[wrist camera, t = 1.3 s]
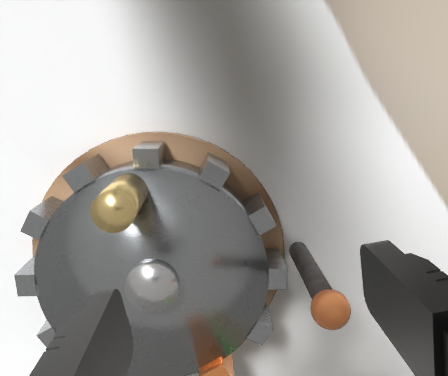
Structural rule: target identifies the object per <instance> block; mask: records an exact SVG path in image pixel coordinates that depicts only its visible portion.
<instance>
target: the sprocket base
mask: <svg viewBox="0 0 448 376" xmlns="http://www.w3.org/2000/svg"><path fill="white" fill-rule="evenodd" d="M142 141H165V159H173V160H178V161H182V162H186V163H190V164H192V165H195V166H198V167H200V166H201V164H202V162H203V161H204V159H205V157H206V155H207V154H208V152H209V153H211V154H213V155H215V156H217V157H218V158H220V159H222V160H224V161H226V162H227V163H228V166H229V170H230V174H229V176H228V178H227V179H226V181H225V182H226V183H227V184H228V185H229V186H230V187H231V188H232V189H233V190H234V191H236V193H237V194H238V195H239V196H240V197H241V199H242V200H243V201H244V200H245V199H247V198H249V197H251V196H252V195H254V194H256V193H259V194H260V196H261V198H262V200H263V201H264V203H265V205H266V206H267V208H268V210H269V212H270V214H271V216H272V218H273V220H274V222H275V224H276V227H274V228H272V229H270V230H269V231H267V232H265V233H263V234H261V235H260V236H261V239H262V242H263V245H264V248H275V247H278V248H279V251H280V253H281V255H282V258H283V260H284V243H283V236H282V229H281V226H280V222H279V218H278V215H277V213H276V210H275V208H274V206H273V203H272V201H271V199H270V198H269V196H268V194H267V193H266V191H265V189H264V188H263V186H262V184H261V183H260V182H259V181H258V180H257V178H256V177H255V176H254V175H253V173H252V172H251V171H250V170H249V169H248V168H247V167H245V166H244V165H243V164H242V163H241V162H240V161H239V160H237V159H236V158H235V157H233V156H232V155H230V154H229V153H228V152H226V151H224V150H223V149H221V148H219V147H217V146H215V145H213V144H211V143H209V142H206V141H203V140H201V139H198V138H195V137H191V136H187V135H182V134H178V133H168V132H143V133H137V134H131V135H126V136H122V137H119V138H116V139H112V140H110V141H107V142H105V143H103V144H101V145H99V146H97V147H95V148H93V149H91V150H89V151H88V152H86V153H85V154H83V155H82V156H80V157H78V158H77V159H76V160H75V161H73V162H72V163H71V164H70V165H69V166H68V167H67V168H65V169H64V170H63V171H62V173H61V174H60V175H59V176H58V177H57V178H56V180H55V181H54V182H53V184H52V185H51V187H50V188H49V190H48V191H47V193H46V195H45V196H44V199H43V201H42V202H44V201H45V200H46V199H48V198H49V197H51V196H54V197H56V198H58V199H60V200H62V201H65V200H66V199H67V198H68V197H70V196H71V195H72V194H73V193H74V192H73V190H72V189H71V188H70V186H69V185H68V183H67V182H66V181H65V179H64V178H63V177H62V175H64V174H65V173H67V172H69V171H70V170H72V169H74V168H75V167H77V166H79V165H80V164H82V163H83V162H85V161H87V160H88V159H90V158H92V157H94V156H95V155H97V154H100V156H101V157H102V159H103V160H104V162H105V163H106V165H107V166H108V167H109V169H110V168H112V167H114V166H116V165H119V164H122V163H126V162H129V161H133V153H132V149H133V148H134V147H135V146H137V145H138V144H139V143H140V142H142ZM32 242H33V257H34V256H35V254H36V250H37V246H38V242H39V240H38V239H36V238H34V237H33V240H32ZM289 252H290V255H291V257H292V259H293V261H294V263H295V265H296V267H297V269H298V271H299V273H300V275H301V277H302V279H303V281H304V283H305V285H306V288H307V290H308V292H309V294H310V296H311V298H312V302H311V314H312V316H313V318H314V320H315V321H316V323H317V324H318V325H320V326H321V327H323V328H325V329H328V330H336V329H340V328H342V327H343V326H344V325H345V324H346V323H347V322H348V320H349V318H350V314H351V309H350V304H349V302H348V300H347V299H346V297H345V296H344V295H343V294H341V293H340V292H338V291H335V290H332V288H331V287H330V285H329V283H328V282H327V280H326V279H325V277H324V275H323V274H322V272H321V270H320V269H319V267H318V265H317V264H316V262H315V261H314V259H313V257H312V256H311V254H310V252H309V251H308V249H307V248H306V246H305V245H304V244H303V243H301V242H296V243H294V244H292V245H291V247H290V249H289ZM275 292H276V290H268V293H267V298H266V303H267V307H268V306H269V304H270V303H271V301H272V299H273V296H274V294H275Z"/></svg>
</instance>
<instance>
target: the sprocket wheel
mask: <svg viewBox="0 0 448 376" xmlns="http://www.w3.org/2000/svg"><path fill="white" fill-rule="evenodd" d="M132 153H133V161H129V162H126V163H122V164H119V165H116V166H114V167H112V168H110V169H109V167H108V166H107V165H106V163H105V162H104V160H103V159H102V157H101V156H100V154H97V155H95V156H94V157H92V158H90V159H88V160H87V161H85V162H83V163H82V164H80V165H79V166H77V167H75V168H74V169H72V170H70V171H69V172H67V173H65V174H64V175H62V177H63V178H64V179H65V181H66V182H67V183H68V185H69V186H70V188H71V189H72V190H73V192H74V193H73V194H72V195H71V196H70V197H68V198H67V199H66V200H65V201H62V200H60V199H58V198H56V197H54V196H51V197H49V198H48V199H46V200H45V201H44V202H42V203H41V204H39V205H38V206H36V207H35V208H33V209H32V210H31V211H30V212H29V214H28V216H27V218H26V220H25V223H24V225H23V227H22V229H21V232H23V233H25V234H27V235H29V236H31V237H34V238H36V239H38V240H39V242H38V246H37V250H36V254H35V256H34V257H33V258H32V259H31V260H30V261H29V262H28V263H27V264H25V265H24V266H23V267H22V268H21V269H20V270H19V271H18V272H17V273H16V274H15V281H16V287H17V293H18V296H37V297H38V300H39V303H40V306H41V309H42V311H43V313H44V315H45V317H46V319H47V321H46V323H45V324H44V326H43V327H42V328H41V330H40V331H39V333H38V334H37V337H38V338H39V339H40V340H41V341H42V342H43V344H44V345H45V346H46V347H48V345H49V343H50V342H51V341H53V337H54V335H55V334H56V332H57V331H58V329H59V327H60V326H61V325H62V324H63V323H64V322H65V321H66V320H67V319H68V318H70V317H71V316H72V315H73V314H74V313H78V312H80V311H81V309H82V308H83V306H84V304H85V302H86V301H87V299H88V297H89V295H90V294H91V293H95V292H100V291H106V290H111V289H118V290H119V291H120V293H121V296H122V300H123V303H124V307H125V310H126V314H127V317H128V321H129V324H130V328H131V332H132V336H133V356H132V360H131V363H130V367H129V370H128V374H127V376H186V375H190V374H194V373H197V372H199V376H234V368H233V357H232V352H233V351H235V350H236V349H237V348H238V347H239V346H240V345H241V344H242V343H243V342H244V341H245V339H246V338H248V339H250V340H252V341H254V342H256V343H258V344H260V345H262V344H263V343H264V341H265V340H266V338H267V337H268V335H269V334H270V333H271V331H272V330H273V325H272V322H271V318H270V314H269V311H268V307H267V303H266V298H267V293H268V290H277V289H286V286H287V267H286V265H285V262H284V260H283V258H282V255H281V253H280V251H279V248H278V247H275V248H264V245H263V242H262V239H261V236H260V235H261V234H263V233H265V232H267V231H269V230H270V229H272V228H274V227H276V224H275V222H274V220H273V218H272V216H271V214H270V212H269V210H268V208H267V206H266V205H265V203H264V201H263V200H262V198H261V196H260V194H259V193H256V194H254V195H252V196H251V197H249V198H247V199H245V200H244V201H243V200H242V199H241V197H240V196H239V195H238V194H237V193H236V191H234V190H233V189H232V188H231V187H230V186H229V185H228V184H227V183H226V182H225V181H226V179H227V178H228V176H229V174H230V170H229V166H228V163H227V162H226V161H224V160H222V159H220V158H218V157H217V156H215V155H213V154H211V153H209V152H208V154H207V155H206V157H205V159H204V161H203V162H202V164H201V166H200V167H198V166H195V165H192V164H190V163H186V162H182V161H178V160H173V159H165V141H142V142H140V143H139V144H138V145H137V146H135V147H134V148H133V149H132Z"/></svg>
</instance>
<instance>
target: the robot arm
mask: <svg viewBox="0 0 448 376" xmlns="http://www.w3.org/2000/svg"><path fill="white" fill-rule="evenodd" d="M360 256H361V267H362V279H363V290H364V297H365V301H366V304H367V307H368V309H369V311H370V313H371V314H372V316H373V317H374V319H375V320H376V321H377V323H378V324H379V326H380V327H381V328H382V330H383V331H384V333H385V334H386V335H387V337H388V338H389V340H390V341H391V342H392V344H393V345H394V347H395V348H396V349H397V351H398V352H399V354H400V355H401V356H402V358H403V359H404V361H405V362H406V363H407V365H408V366H409V368H410V369H411V370H412V372H413V373H414V375H415V376H448V275H447V274H445V273H444V272H443V271H440V269H439V268H438V267H436V266H435V265H434V264H433V263H431V262H430V261H429V260H427V259H424V258H422V257H419V256H417V255H414V254H411V253H409V254H404V253H403V252H402V251H401V250H399V249H398V248H397V247H396V246H395V245H393V244H392V243H391V242H390V241H388V240H386V241H380V242H375V243H369V244H364V245H362V246H361V248H360ZM132 356H133V336H132V332H131V328H130V324H129V321H128V317H127V314H126V310H125V307H124V303H123V300H122V296H121V293H120V291H119V290H118V289H111V290H106V291H100V292H95V293H91V294H90V295H89V297H88V299H87V301H86V302H85V304H84V306H83V308H82V309H81V311H80V312H78V313H74V314H73V315H72V316H71V317H70V318H68V319H67V320H66V321H65V322H64V323H63V324H62V325H61V326H60V327H59V329H58V331H57V332H56V334H55V335H54V337H53V341H51V342H50V343H49V345H48V347H47V348H46V352H44V353H43V355H42V356H41V358H40V360H39V361H38V363H37V364H36V366H35V368H34V369H33V371H32V372H31V374H30V376H127V374H128V370H129V367H130V363H131V360H132Z"/></svg>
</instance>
